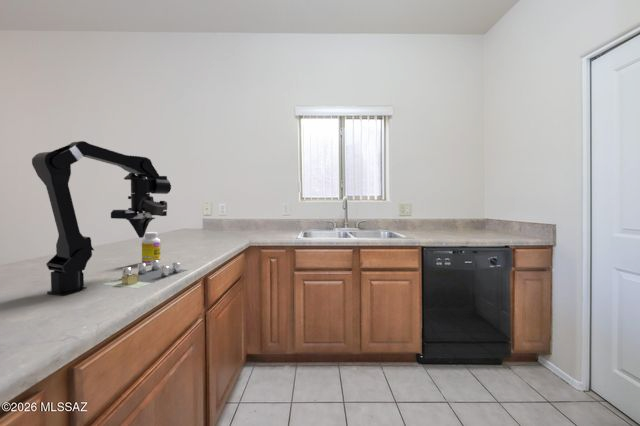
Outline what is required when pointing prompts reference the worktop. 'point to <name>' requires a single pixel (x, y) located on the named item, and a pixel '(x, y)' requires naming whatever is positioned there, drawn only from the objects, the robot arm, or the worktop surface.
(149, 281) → the mat
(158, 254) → the supplement bottle
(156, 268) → the spacers
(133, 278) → the nut
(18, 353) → the worktop surface
